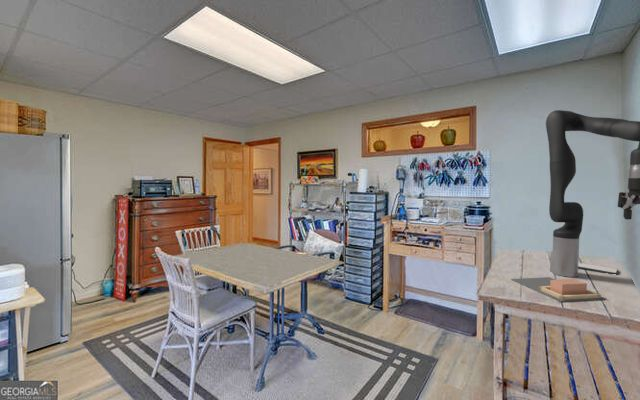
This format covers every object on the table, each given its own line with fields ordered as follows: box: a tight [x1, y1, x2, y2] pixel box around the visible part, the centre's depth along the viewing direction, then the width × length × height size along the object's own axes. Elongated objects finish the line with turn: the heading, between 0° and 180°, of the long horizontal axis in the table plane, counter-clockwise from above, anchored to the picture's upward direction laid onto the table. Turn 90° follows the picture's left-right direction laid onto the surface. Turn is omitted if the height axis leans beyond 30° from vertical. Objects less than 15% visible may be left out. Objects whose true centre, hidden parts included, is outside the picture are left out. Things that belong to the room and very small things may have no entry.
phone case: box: [578, 262, 620, 276], centre depth 142 cm, size 9×2×16 cm
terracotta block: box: [550, 278, 588, 295], centre depth 111 cm, size 10×5×4 cm, turn 96°
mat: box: [510, 276, 608, 303], centre depth 117 cm, size 24×18×2 cm
